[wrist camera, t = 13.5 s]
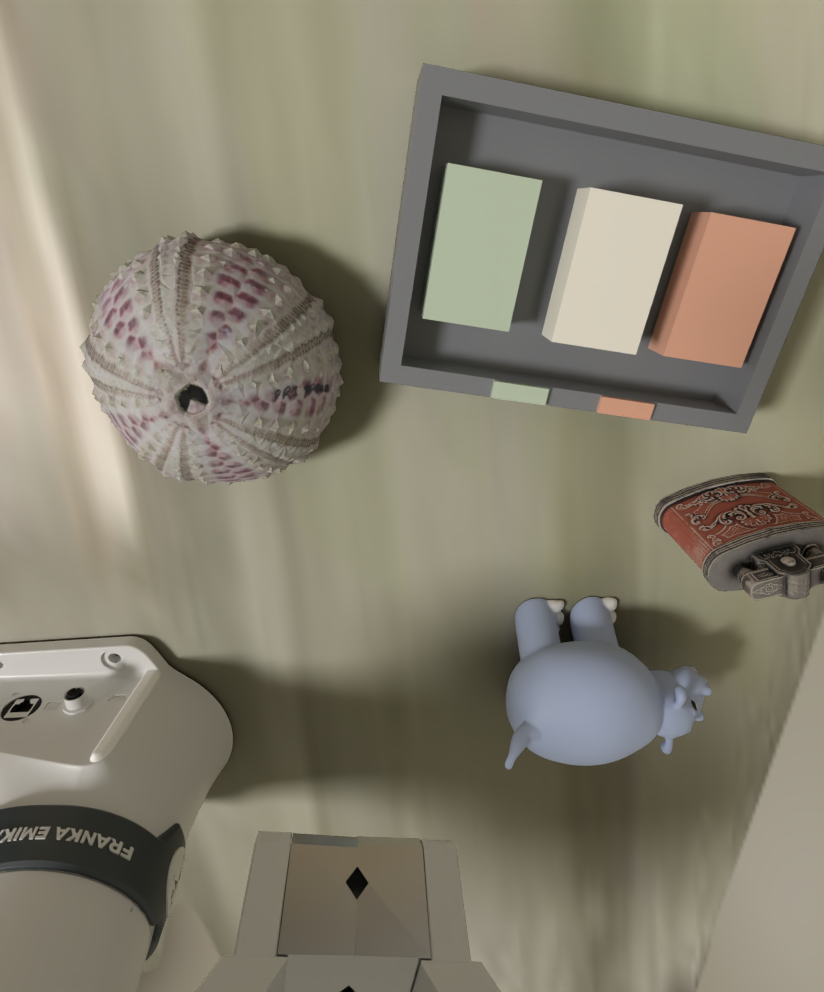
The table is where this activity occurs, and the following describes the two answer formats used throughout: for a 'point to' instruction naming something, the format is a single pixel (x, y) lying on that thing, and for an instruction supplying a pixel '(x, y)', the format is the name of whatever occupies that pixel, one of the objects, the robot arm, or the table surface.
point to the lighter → (747, 535)
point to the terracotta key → (719, 288)
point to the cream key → (609, 269)
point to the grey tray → (565, 168)
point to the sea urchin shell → (213, 360)
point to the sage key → (478, 246)
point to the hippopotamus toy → (591, 689)
